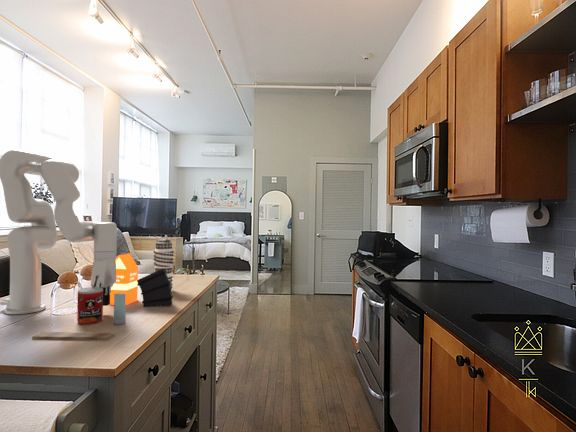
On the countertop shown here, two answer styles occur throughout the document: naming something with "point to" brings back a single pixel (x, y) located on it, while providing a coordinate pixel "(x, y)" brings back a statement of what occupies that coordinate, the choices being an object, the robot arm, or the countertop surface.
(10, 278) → the robot arm
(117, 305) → the peg
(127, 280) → the orange juice
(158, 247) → the decorative candle
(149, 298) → the black layered block
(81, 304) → the canned food
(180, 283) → the countertop surface
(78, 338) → the batten
